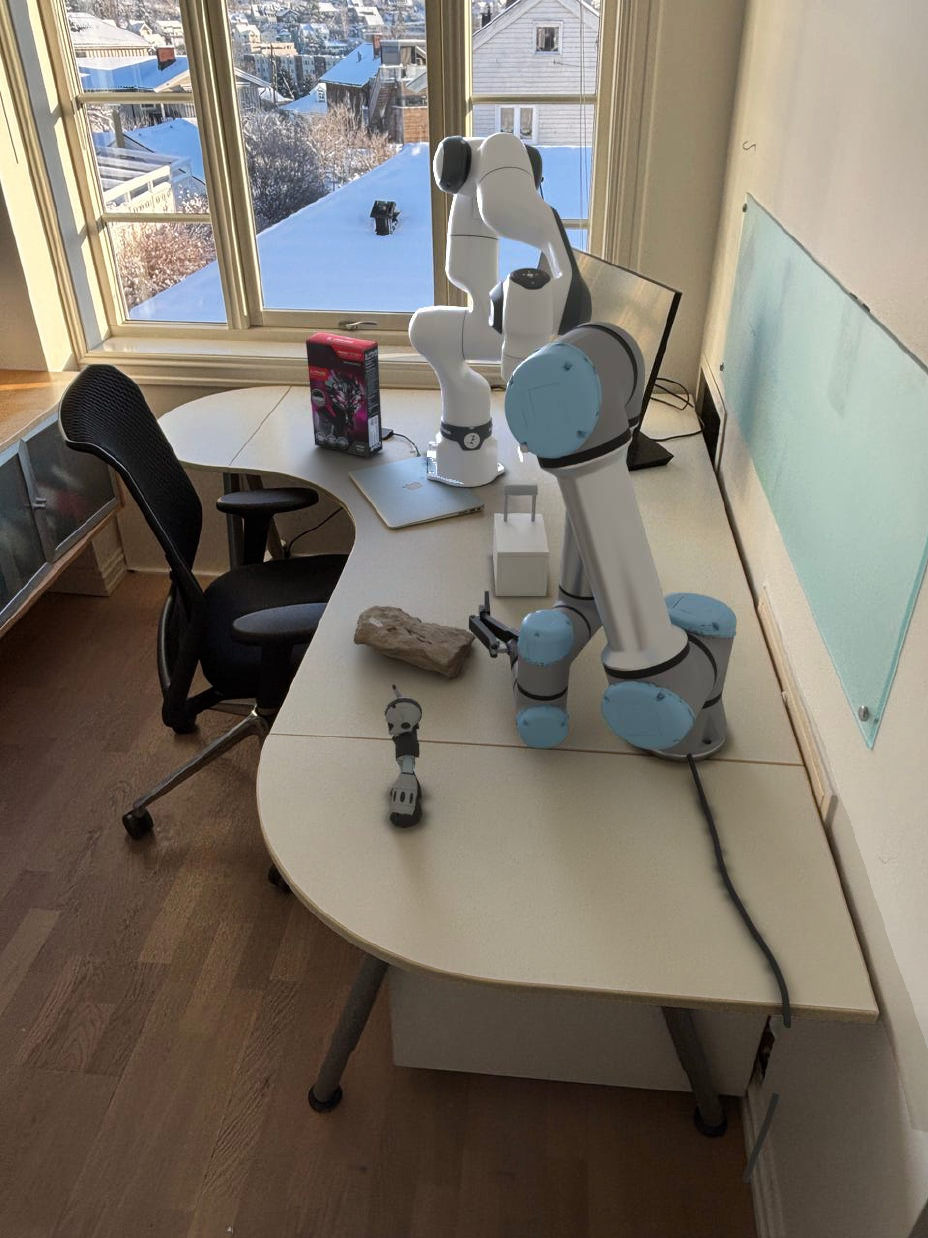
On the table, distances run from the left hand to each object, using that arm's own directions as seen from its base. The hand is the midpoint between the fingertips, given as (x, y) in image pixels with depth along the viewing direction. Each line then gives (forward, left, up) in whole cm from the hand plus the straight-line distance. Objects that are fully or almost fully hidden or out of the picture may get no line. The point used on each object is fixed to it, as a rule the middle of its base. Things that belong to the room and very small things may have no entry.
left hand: (522, 440), depth 171 cm
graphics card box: (-64, -26, -26) cm, 74 cm away
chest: (+5, -1, -26) cm, 27 cm away
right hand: (+22, -5, -20) cm, 30 cm away
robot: (+62, -33, -26) cm, 75 cm away
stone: (+26, -26, -26) cm, 45 cm away
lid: (+5, -1, -18) cm, 18 cm away
